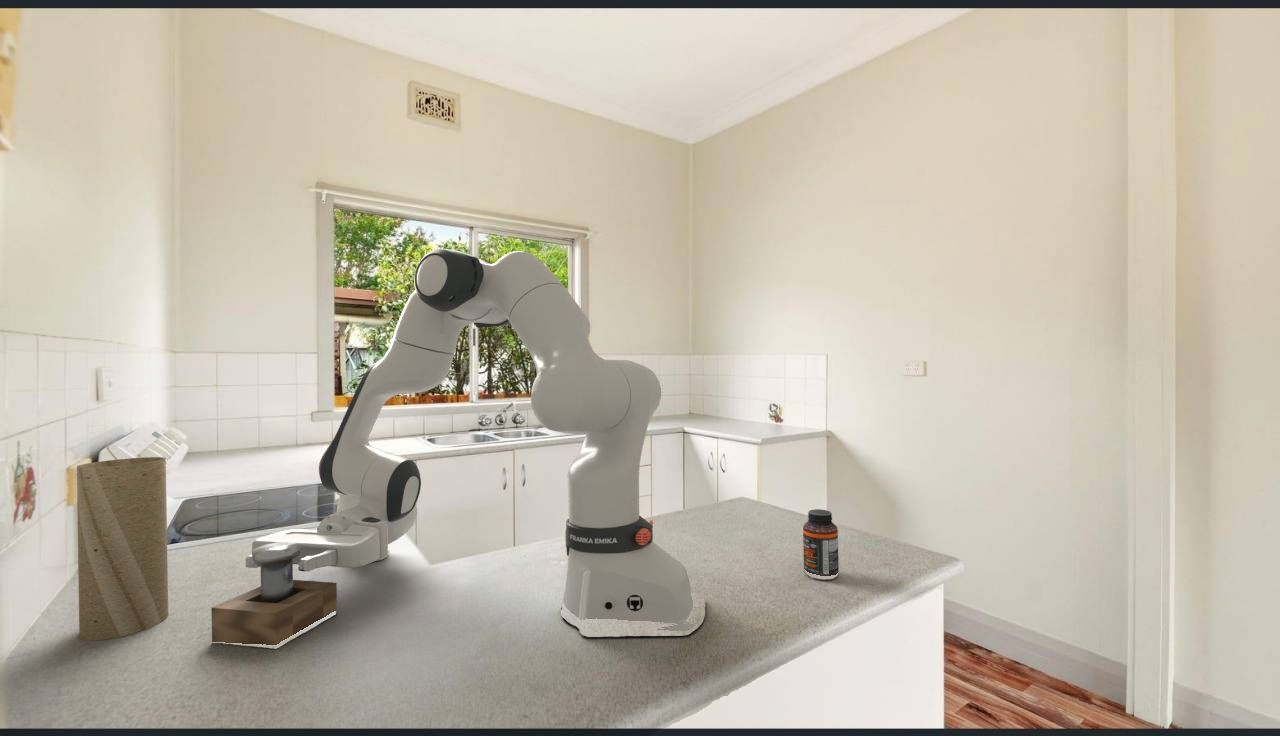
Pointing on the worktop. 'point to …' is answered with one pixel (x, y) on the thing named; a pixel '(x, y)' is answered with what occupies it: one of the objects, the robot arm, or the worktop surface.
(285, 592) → the pin
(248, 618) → the block
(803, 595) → the worktop surface
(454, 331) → the robot arm
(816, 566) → the supplement bottle
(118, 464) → the tube
